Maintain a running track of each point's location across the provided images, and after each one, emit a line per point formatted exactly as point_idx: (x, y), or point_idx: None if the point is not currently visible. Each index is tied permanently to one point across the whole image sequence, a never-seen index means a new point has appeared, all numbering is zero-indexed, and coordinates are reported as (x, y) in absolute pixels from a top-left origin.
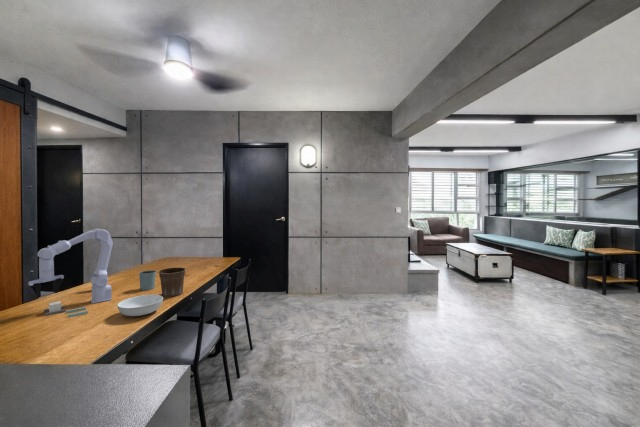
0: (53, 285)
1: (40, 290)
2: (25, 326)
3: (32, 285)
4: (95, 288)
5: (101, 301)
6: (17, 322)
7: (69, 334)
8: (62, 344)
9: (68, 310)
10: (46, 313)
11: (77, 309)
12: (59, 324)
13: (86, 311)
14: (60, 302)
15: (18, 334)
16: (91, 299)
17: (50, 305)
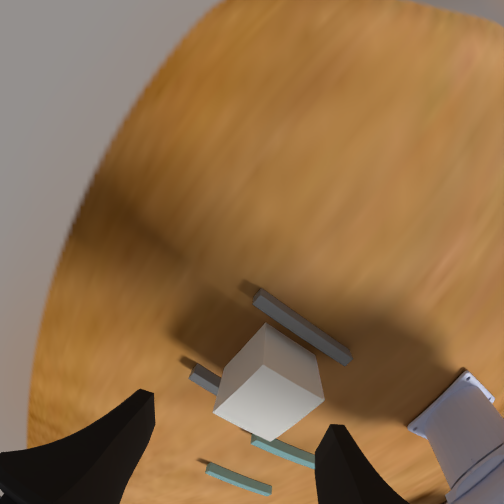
0: (356, 500)
1: (120, 492)
2: (81, 384)
3: (16, 502)
4: (451, 484)
5: (425, 437)
6: (85, 304)
7: (122, 501)
8: None
9: (263, 444)
10: (194, 381)
11: (290, 458)
12: (147, 470)
13: (262, 494)
14: (282, 432)
15: (52, 409)
16: (469, 374)
17: (218, 412)
